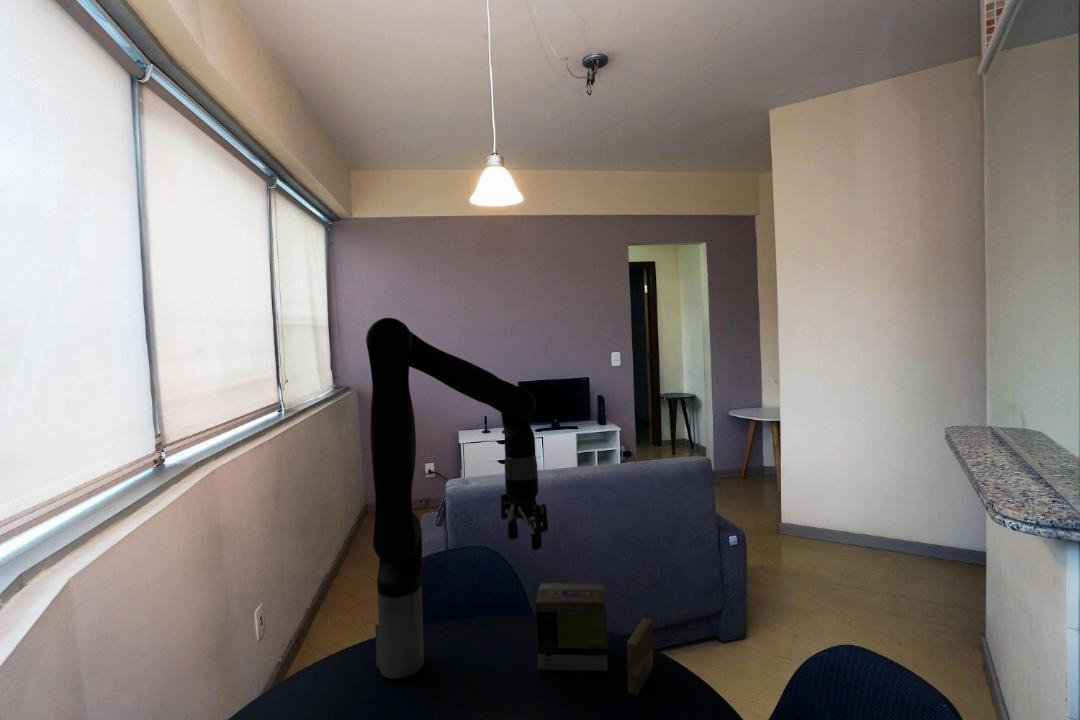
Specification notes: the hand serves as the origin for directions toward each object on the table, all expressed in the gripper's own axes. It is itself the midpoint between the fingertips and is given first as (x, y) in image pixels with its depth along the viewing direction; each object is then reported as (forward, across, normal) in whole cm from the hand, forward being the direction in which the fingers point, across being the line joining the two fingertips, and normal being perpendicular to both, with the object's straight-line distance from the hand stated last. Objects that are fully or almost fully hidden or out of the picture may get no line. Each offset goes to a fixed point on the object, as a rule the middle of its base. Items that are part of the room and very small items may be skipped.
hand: (524, 543), depth 116 cm
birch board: (+24, +26, +8) cm, 36 cm away
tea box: (+24, +11, +3) cm, 26 cm away
